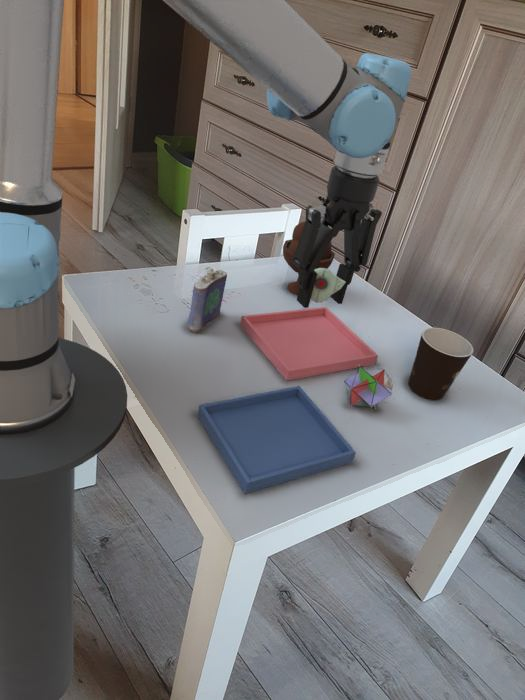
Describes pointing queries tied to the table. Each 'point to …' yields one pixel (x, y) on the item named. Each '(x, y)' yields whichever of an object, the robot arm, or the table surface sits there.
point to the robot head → (325, 285)
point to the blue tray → (274, 437)
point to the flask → (206, 299)
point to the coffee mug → (438, 362)
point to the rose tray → (307, 342)
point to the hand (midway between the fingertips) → (319, 301)
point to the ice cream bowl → (324, 262)
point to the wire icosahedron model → (369, 387)
